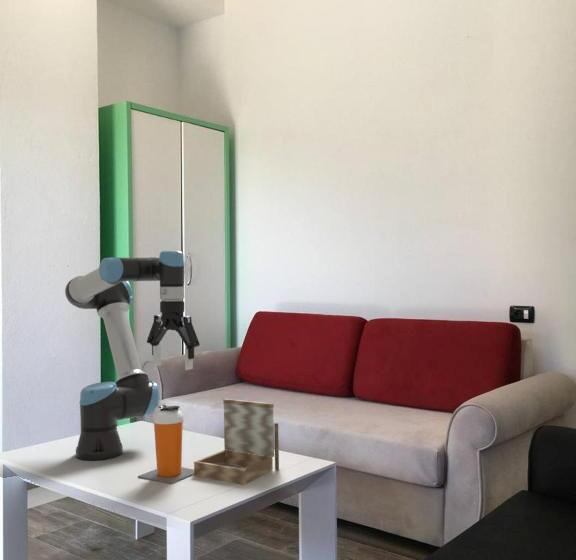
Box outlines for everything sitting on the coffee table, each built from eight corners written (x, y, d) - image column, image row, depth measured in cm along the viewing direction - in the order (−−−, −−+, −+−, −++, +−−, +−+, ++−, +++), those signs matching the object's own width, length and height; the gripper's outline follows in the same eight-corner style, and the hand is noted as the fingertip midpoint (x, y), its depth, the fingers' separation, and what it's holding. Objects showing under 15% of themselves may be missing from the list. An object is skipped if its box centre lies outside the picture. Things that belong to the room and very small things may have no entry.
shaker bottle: (178, 478, 193) (176, 409, 192) (149, 477, 194) (147, 409, 194) (188, 469, 201) (187, 403, 201) (161, 468, 203) (159, 403, 203)
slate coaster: (137, 477, 196) (137, 476, 196) (167, 466, 207) (167, 464, 207) (171, 484, 189) (171, 482, 189) (200, 471, 200) (200, 470, 200)
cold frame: (194, 475, 197) (193, 407, 197) (228, 460, 211) (227, 398, 211) (247, 485, 187) (246, 414, 187) (279, 469, 201) (278, 403, 201)
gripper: (135, 299, 212) (136, 365, 213) (194, 301, 198) (194, 372, 199) (152, 298, 218) (153, 362, 219) (210, 300, 204) (211, 369, 205)
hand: (172, 367), depth 209 cm, fingers open, 13 cm apart
